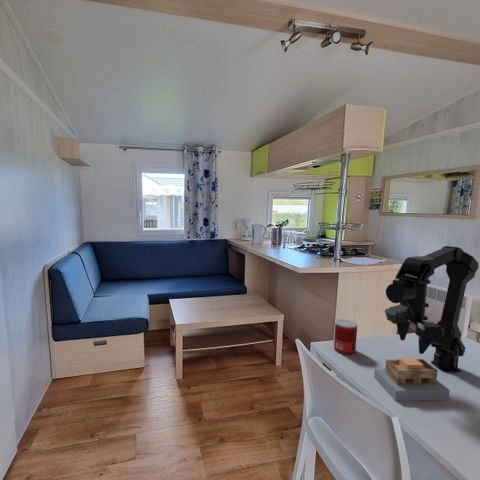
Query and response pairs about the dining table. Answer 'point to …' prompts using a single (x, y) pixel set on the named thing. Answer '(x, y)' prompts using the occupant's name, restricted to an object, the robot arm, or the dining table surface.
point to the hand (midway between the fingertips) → (411, 346)
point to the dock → (411, 389)
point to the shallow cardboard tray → (410, 373)
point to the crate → (410, 363)
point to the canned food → (345, 336)
